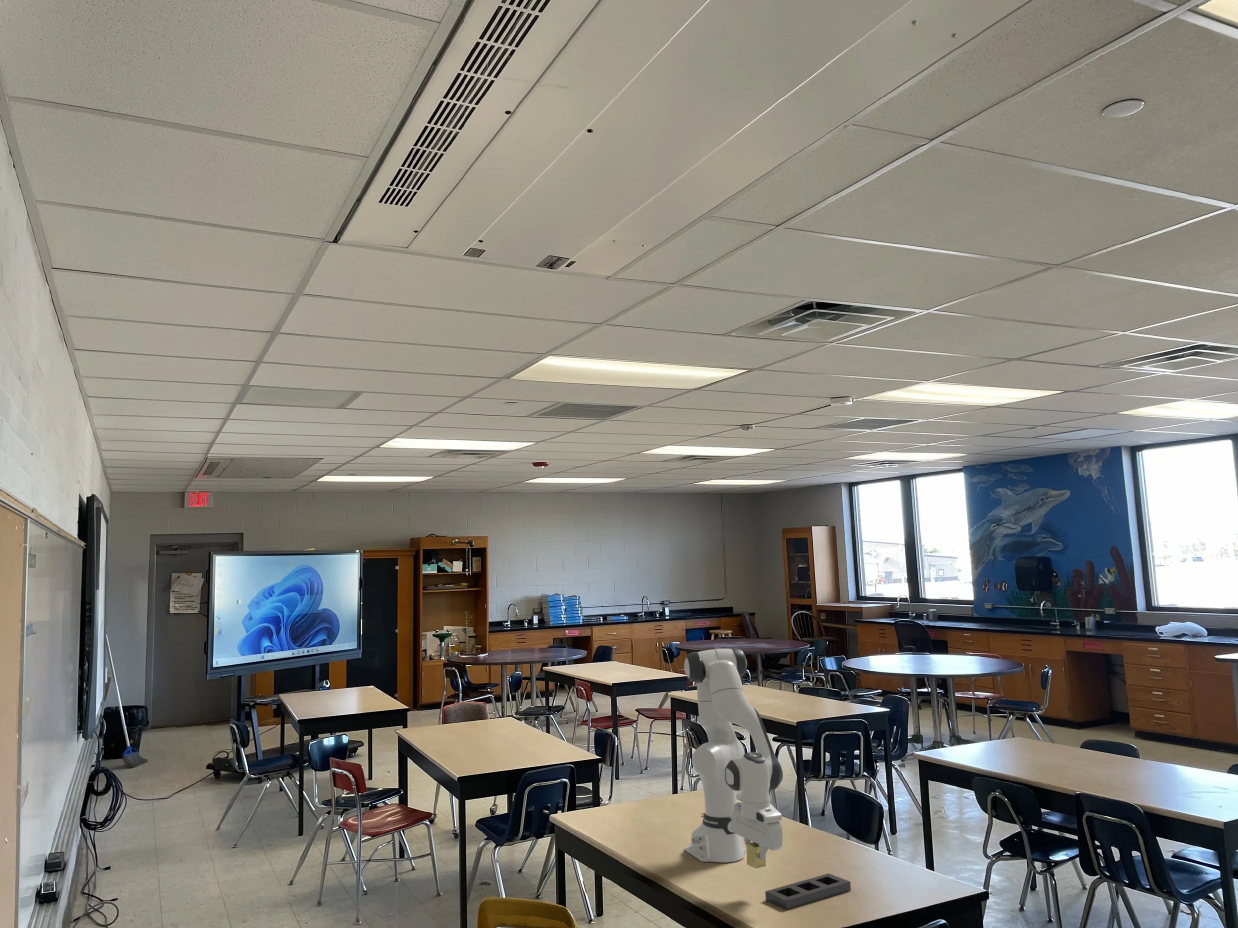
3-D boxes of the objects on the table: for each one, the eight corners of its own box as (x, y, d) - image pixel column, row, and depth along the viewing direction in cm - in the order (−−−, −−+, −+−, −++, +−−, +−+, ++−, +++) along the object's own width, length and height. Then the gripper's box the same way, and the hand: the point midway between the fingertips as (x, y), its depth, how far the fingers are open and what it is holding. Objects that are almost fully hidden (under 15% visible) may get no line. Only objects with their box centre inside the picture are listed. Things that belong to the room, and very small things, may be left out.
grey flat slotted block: (765, 899, 245) (765, 891, 245) (829, 881, 258) (828, 873, 258) (786, 909, 237) (786, 900, 237) (850, 890, 250) (850, 881, 251)
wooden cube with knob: (747, 864, 251) (746, 841, 251) (757, 861, 253) (756, 839, 254) (755, 868, 247) (755, 845, 248) (765, 865, 249) (765, 843, 250)
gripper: (726, 801, 259) (726, 847, 258) (769, 819, 242) (770, 868, 240) (742, 798, 262) (742, 844, 261) (785, 816, 245) (786, 865, 243)
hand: (756, 856), depth 250 cm, fingers closed on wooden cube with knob, 4 cm apart
